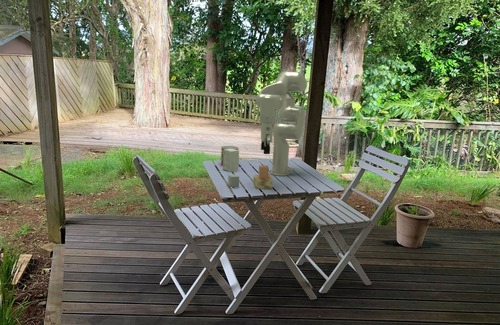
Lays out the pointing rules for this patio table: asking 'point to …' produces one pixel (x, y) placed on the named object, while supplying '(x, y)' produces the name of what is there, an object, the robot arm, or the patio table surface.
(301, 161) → the patio table surface
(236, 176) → the slate block
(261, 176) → the terracotta block
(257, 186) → the tan square tray
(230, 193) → the patio table surface
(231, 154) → the small box
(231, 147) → the canned food
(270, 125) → the robot arm
